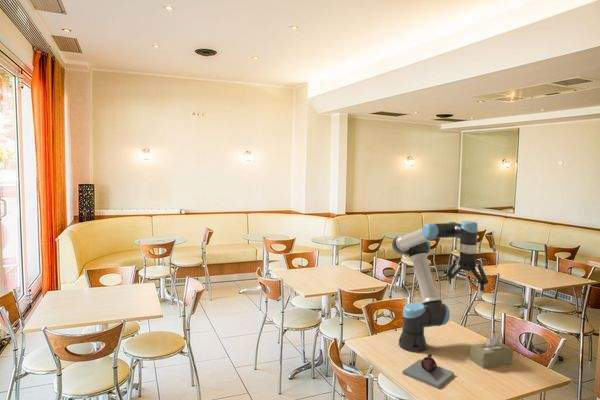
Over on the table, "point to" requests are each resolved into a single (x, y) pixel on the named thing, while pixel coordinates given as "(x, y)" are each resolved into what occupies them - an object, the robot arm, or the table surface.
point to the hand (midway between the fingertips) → (465, 293)
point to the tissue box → (491, 353)
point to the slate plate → (428, 374)
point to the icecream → (428, 363)
